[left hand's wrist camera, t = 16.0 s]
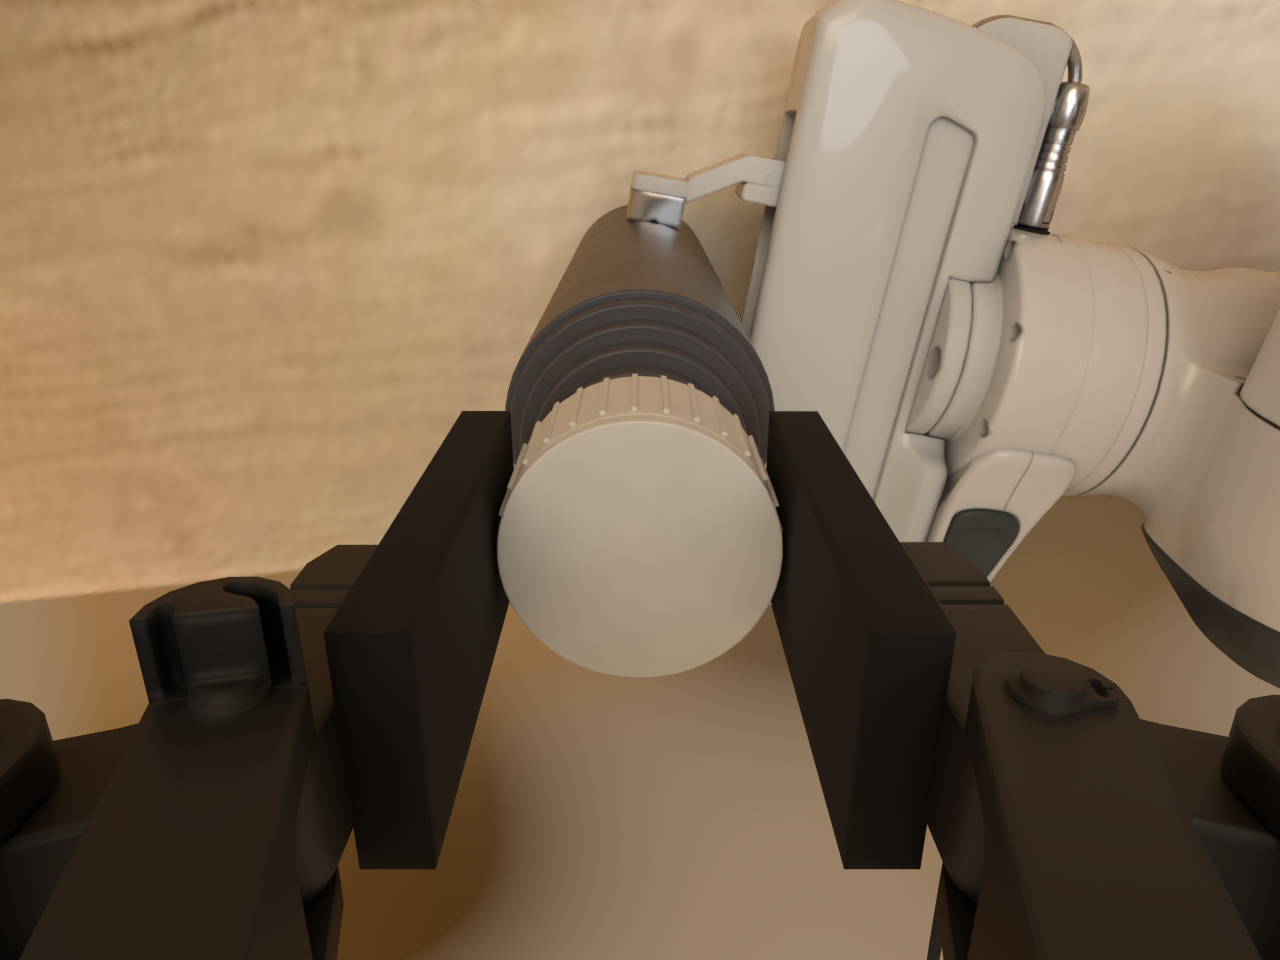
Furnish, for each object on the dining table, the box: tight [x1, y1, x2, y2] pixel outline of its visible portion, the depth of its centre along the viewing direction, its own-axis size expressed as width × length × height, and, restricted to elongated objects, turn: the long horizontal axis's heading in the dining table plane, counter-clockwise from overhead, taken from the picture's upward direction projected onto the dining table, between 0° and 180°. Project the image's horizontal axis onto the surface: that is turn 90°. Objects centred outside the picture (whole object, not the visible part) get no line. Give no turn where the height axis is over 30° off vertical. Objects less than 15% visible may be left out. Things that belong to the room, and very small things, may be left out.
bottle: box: [505, 205, 775, 465], centre depth 24 cm, size 5×5×25 cm
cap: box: [497, 374, 783, 678], centre depth 13 cm, size 4×4×2 cm
